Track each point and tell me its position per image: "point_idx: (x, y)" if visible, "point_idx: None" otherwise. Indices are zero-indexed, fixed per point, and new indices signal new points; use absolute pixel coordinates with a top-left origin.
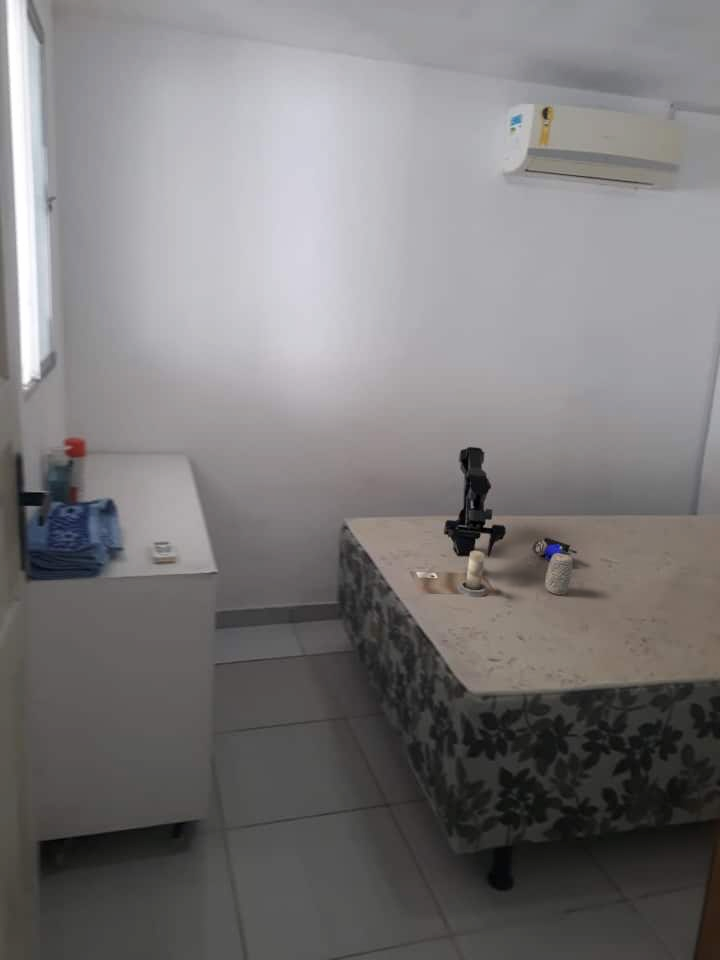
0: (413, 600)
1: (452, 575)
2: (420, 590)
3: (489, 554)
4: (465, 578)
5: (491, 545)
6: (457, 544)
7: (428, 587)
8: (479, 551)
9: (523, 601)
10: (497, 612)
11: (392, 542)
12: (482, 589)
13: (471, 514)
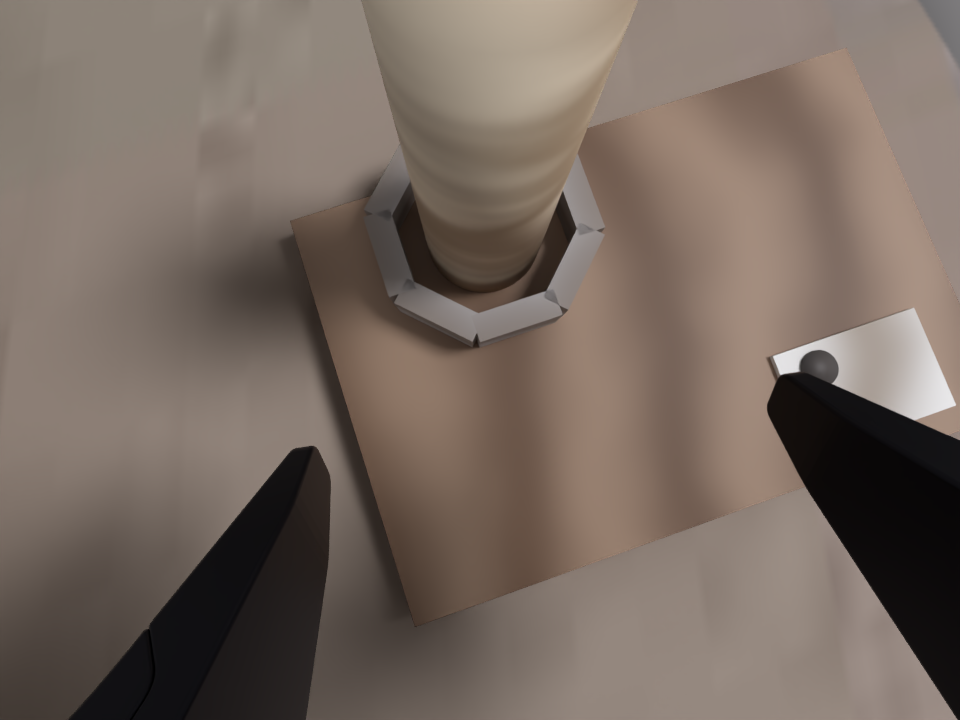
0: (846, 10)
1: (664, 468)
2: (848, 95)
3: (288, 458)
4: (553, 446)
5: (185, 624)
6: (957, 453)
7: (805, 164)
8: (464, 40)
9: (107, 260)
10: (299, 27)
11: None
12: (402, 177)
13: None
